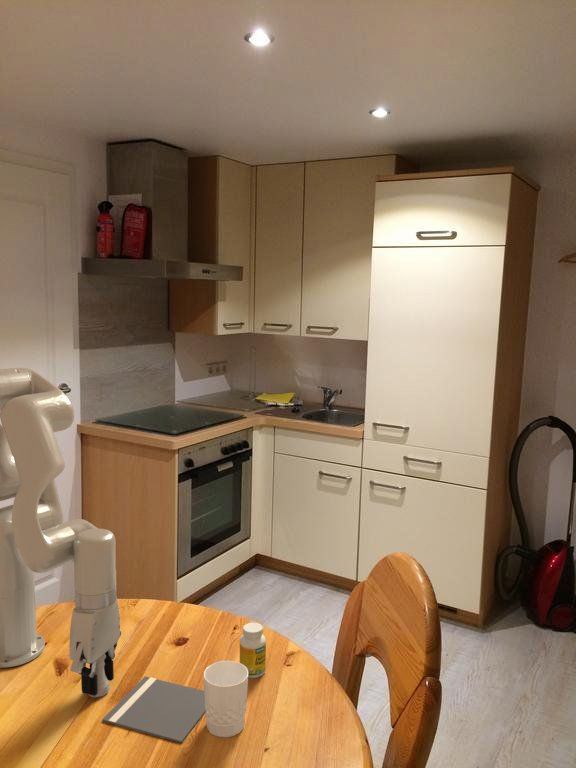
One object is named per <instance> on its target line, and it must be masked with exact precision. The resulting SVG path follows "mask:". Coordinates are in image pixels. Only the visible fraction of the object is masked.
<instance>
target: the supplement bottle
mask: <svg viewBox="0 0 576 768" xmlns="http://www.w3.org/2000/svg"><path fill="white" fill-rule="evenodd" d="M263 627H264V626H263V625H262V624H260V623H258V622H249V623H246V624H244V625H243V626H242V635H241V636H240V638H239V663H241V664H243V665H244V666H245V667H246V668H247V669H248V679H255V678H257V679H258V678H260V677H261V676H263V675H264V674H265V672H266V669H267V668H266V665H267V664H266V663H267V662H266V660H267V657H266V655H267V640H266V637H265V635H264V634H263V633H264V631H263V630H264V628H263Z"/></svg>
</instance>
